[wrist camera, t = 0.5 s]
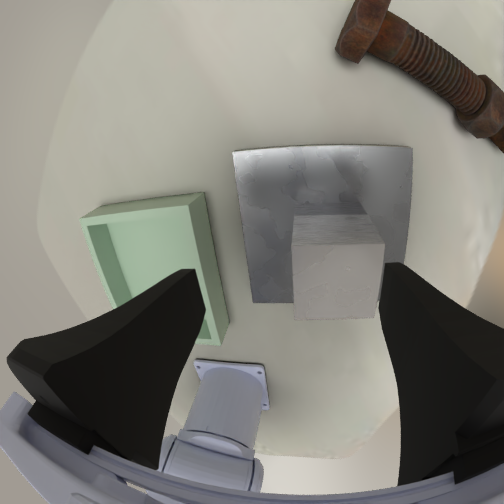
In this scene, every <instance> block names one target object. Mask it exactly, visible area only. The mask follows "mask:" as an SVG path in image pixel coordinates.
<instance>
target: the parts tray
mask: <svg viewBox="0 0 504 504" xmlns="http://www.w3.org/2000/svg"><path fill="white" fill-rule="evenodd" d="M79 220H80V223H81V226H82V230H83V233H84V236H85V239H86V242H87V245H88V248H89V251H90V253H91V256H92V259H93V262H94V264H95V267H96V270H97V272H98V275H99V277H100V280H101V282H102V285H103V287H104V290H105V292H106V294H107V297H108V299H109V301H110V303H111V306H112V308H113V309H115V308H117V307H119V306H121V305H122V304H124V303H126V302H127V301H129V300H131V299H132V298H134V297H136V296H137V295H139V294H141V293H142V292H144V291H145V290H147V289H149V288H150V287H152V286H153V285H155V284H156V283H158V282H159V281H161V280H163V279H164V278H166V277H167V276H169V275H171V274H172V273H174V272H176V271H178V270H180V269H195V270H196V274H197V278H198V281H199V285H200V289H201V293H202V296H203V300H204V304H205V307H206V313H205V316H204V320H203V324H202V327H201V330H200V333H199V335H198V337H197V339H196V342H195V343H196V344H206V345H218V346H221V345H222V342H223V339H224V336H225V334H226V331H227V328H228V325H229V318H228V314H227V309H226V304H225V300H224V295H223V290H222V285H221V280H220V275H219V270H218V265H217V260H216V255H215V250H214V245H213V240H212V234H211V229H210V223H209V218H208V212H207V207H206V201H205V195H204V192H201V193H192V194H183V195H174V196H166V197H158V198H150V199H143V200H136V201H129V202H123V203H117V204H110V205H104V206H100V207H98V208H97V209H95V210H93V211H91V212H90V213H88V214H86V215H85V216H83V217H81V218H80V219H79Z"/></svg>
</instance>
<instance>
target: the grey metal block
mask: <svg viewBox="0 0 504 504" xmlns="http://www.w3.org/2000/svg"><path fill="white" fill-rule="evenodd" d="M291 250H292V270H293V292H294V320H327V319H357V318H374V316H375V311H376V305H377V300H378V294H379V288H380V281H381V274H382V267H383V259H384V250H385V243H384V241H383V239H382V237H381V236H380V234H379V232H378V231H377V229H376V227H375V226H374V224H373V222H372V221H371V219H370V217H369V216H368V214H367V213H366V211H365V209H364V208H363V206H362V205H361V203H360V202H338V203H301V204H295V212H294V223H293V234H292V244H291Z"/></svg>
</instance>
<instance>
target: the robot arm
mask: <svg viewBox="0 0 504 504" xmlns="http://www.w3.org/2000/svg"><path fill="white" fill-rule="evenodd" d="M205 313H206V307H205V304H204V300H203V296H202V293H201V289H200V285H199V281H198V278H197V274H196V270H195V269H180V270H178V271H176V272H174V273H172V274H171V275H169V276H167V277H166V278H164V279H163V280H161V281H159V282H158V283H156V284H155V285H153V286H152V287H150V288H149V289H147V290H145V291H144V292H142V293H141V294H139V295H137V296H136V297H134V298H132V299H131V300H129V301H127V302H126V303H124V304H122V305H121V306H119V307H117V308H115V309H113V310H111V311H109V312H107V313H105V314H103V315H101V316H99V317H97V318H95V319H92V320H90V321H87V322H85V323H82V324H80V325H77V326H75V327H72V328H69V329H66V330H63V331H59V332H56V333H52V334H48V335H44V336H39V337H34V338H29V339H24V340H22V341H21V342H20V343H19V344H18V345H17V346H16V347H15V349H13V351H12V352H11V353H10V354H9V355H8V357H7V364H8V365H9V368H10V369H11V371H12V372H13V374H14V375H15V376H16V378H17V379H18V380H19V381H20V383H21V384H22V385H23V386H24V387H25V389H26V390H27V391H28V392H29V393H30V394H31V395H32V397H34V399H35V400H36V402H35V403H34V405H32V404H31V403H30V402H29V401H27V400H26V399H25V398H23V397H22V396H21V395H19V394H18V393H17V392H13V393H12V395H11V396H10V397H9V399H8V400H7V402H6V403H5V404H4V406H3V407H2V409H1V410H0V447H1V449H2V450H3V451H4V452H5V454H6V455H7V456H8V457H9V458H10V460H11V461H12V463H13V464H14V465H15V466H16V468H17V469H18V470H19V471H20V472H21V474H22V475H23V476H24V477H25V479H26V480H27V481H28V482H29V483H30V484H31V485H32V487H33V488H34V489H35V490H36V491H37V492H38V493H39V494H40V495H41V496H42V497H43V498H44V499H45V500H46V501H47V502H48V503H49V504H504V329H503V328H501V327H499V326H497V325H495V324H493V323H490V322H489V321H486V320H484V319H483V318H481V317H479V316H477V315H475V314H474V313H472V312H470V311H469V310H467V309H465V308H464V307H462V306H460V305H459V304H457V303H456V302H454V301H453V300H452V299H450V298H449V297H447V296H446V295H444V294H443V293H442V292H440V291H439V290H437V289H436V288H435V287H433V286H432V285H431V284H429V283H428V282H427V281H425V280H424V279H423V278H422V277H420V276H419V275H418V274H416V273H415V272H414V271H412V270H411V269H410V268H408V267H407V266H405V265H404V264H402V263H401V262H392V263H385V266H384V274H383V281H382V288H381V295H380V301H379V313H380V320H381V325H382V330H383V334H384V337H385V341H386V344H387V348H388V351H389V355H390V358H391V362H392V365H393V369H394V373H395V377H396V382H397V387H398V396H399V406H400V421H401V454H400V455H401V456H400V468H399V478H398V485H397V486H396V487H391V488H385V489H379V490H373V491H365V492H356V493H345V494H329V495H287V494H269V493H260V490H261V487H262V482H263V475H264V471H263V470H264V469H263V466H262V464H261V462H260V460H259V459H257V458H254V453H255V450H253V447H254V445H255V440H256V435H257V430H258V425H259V420H260V415H261V410H269V408H270V405H269V398H268V391H267V384H266V377H265V369H264V367H263V366H262V365H255V364H239V363H227V362H216V361H206V360H194V366H195V369H196V371H197V373H198V376H199V378H200V381H201V383H200V386H199V388H198V391H197V394H196V396H195V399H194V402H193V404H192V407H191V410H190V412H189V415H188V417H187V420H186V423H185V425H184V428H183V429H180V432H179V434H178V437H177V436H176V435H172V434H171V435H170V436H168V437H165V438H164V439H163V435H164V430H165V426H166V421H167V417H168V413H169V409H170V406H171V402H172V398H173V395H174V392H175V389H176V385H177V382H178V380H179V377H180V375H181V372H182V370H183V368H184V366H185V364H186V361H187V359H188V357H189V355H190V353H191V350H192V348H193V346H194V344H195V342H196V339H197V337H198V335H199V333H200V330H201V327H202V324H203V320H204V316H205ZM162 440H163V441H162ZM126 481H127V482H129V483H131V484H134V485H136V486H139V487H141V488H144V489H146V492H147V494H145V493H143V492H141V491H138V490H136V489H134V488H131V487H129V486H128V485H127V483H126Z"/></svg>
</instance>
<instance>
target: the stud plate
mask: <svg viewBox="0 0 504 504" xmlns="http://www.w3.org/2000/svg"><path fill="white" fill-rule="evenodd" d="M232 154H233V161H234V169H235V176H236V184H237V191H238V198H239V206H240V213H241V220H242V228H243V235H244V242H245V249H246V256H247V264H248V271H249V278H250V285H251V292H252V299H253V303H294V292H293V270H292V250H291V244H292V234H293V223H294V212H295V204H301V203H338V202H360V203H361V205H362V206H363V208H364V209H365V211H366V213H367V214H368V216H369V217H370V219H371V221H372V222H373V224H374V226H375V227H376V229H377V231H378V232H379V234H380V236H381V237H382V239H383V241H384V243H385V250H384V259H383V267H382V274H381V281H380V288H379V294H378V300H377V301H380V295H381V288H382V281H383V274H384V266H385V263H392V262H401V263H402V264H404V258H405V251H406V244H407V236H408V227H409V218H410V206H411V192H412V165H413V148H411V147H408V146H394V145H367V144H324V145H297V146H280V147H266V148H255V149H245V150H236V151H234V152H232Z"/></svg>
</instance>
